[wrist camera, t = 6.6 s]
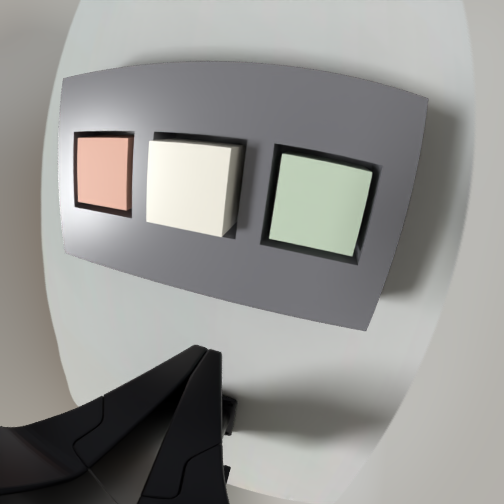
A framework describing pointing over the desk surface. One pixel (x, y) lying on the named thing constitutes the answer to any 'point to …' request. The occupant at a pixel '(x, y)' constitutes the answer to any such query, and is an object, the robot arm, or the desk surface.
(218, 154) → the cream key
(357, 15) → the desk surface
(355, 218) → the sage key
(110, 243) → the keyguard
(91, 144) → the terracotta key
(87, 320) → the desk surface
